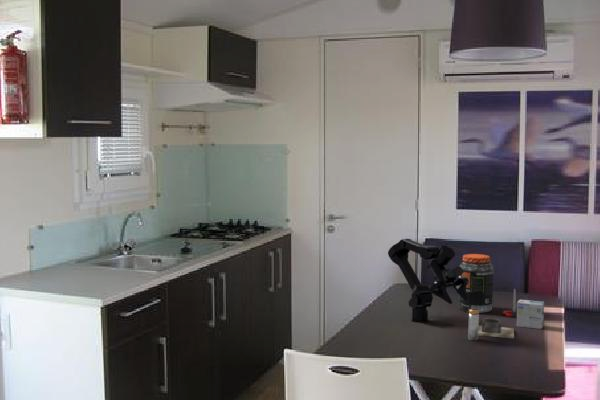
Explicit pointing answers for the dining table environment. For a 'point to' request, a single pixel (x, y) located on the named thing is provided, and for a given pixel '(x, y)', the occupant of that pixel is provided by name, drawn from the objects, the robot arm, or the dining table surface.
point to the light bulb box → (530, 314)
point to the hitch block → (494, 329)
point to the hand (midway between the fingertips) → (459, 302)
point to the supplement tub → (477, 283)
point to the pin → (473, 324)
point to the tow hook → (513, 312)
